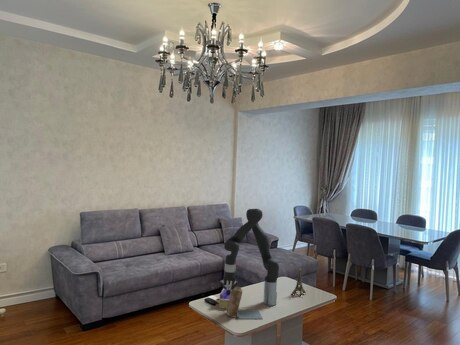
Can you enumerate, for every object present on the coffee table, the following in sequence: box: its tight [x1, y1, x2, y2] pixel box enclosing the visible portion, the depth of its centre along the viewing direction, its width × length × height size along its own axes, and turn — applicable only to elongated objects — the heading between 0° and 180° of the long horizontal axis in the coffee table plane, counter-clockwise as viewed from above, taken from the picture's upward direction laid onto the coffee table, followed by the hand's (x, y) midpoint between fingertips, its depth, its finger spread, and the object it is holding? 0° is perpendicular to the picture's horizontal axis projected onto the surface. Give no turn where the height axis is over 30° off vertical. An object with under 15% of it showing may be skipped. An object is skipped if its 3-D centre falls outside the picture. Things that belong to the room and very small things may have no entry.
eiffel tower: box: [291, 268, 307, 296], centre depth 284 cm, size 11×11×25 cm
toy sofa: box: [218, 284, 232, 309], centre depth 259 cm, size 21×9×10 cm, turn 170°
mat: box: [236, 309, 263, 320], centre depth 240 cm, size 17×14×2 cm
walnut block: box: [226, 286, 244, 318], centre depth 239 cm, size 6×8×18 cm
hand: (228, 295), depth 238 cm, fingers closed
